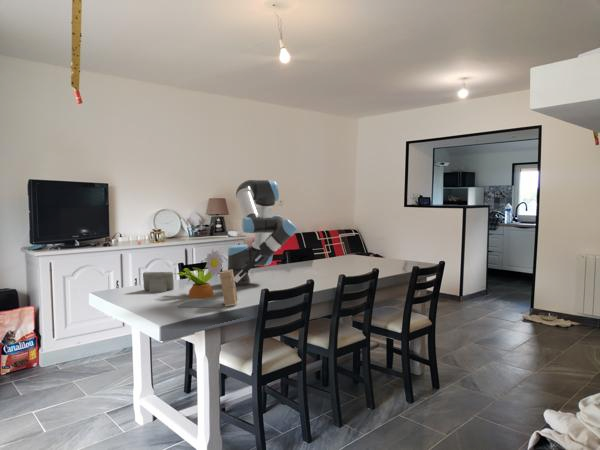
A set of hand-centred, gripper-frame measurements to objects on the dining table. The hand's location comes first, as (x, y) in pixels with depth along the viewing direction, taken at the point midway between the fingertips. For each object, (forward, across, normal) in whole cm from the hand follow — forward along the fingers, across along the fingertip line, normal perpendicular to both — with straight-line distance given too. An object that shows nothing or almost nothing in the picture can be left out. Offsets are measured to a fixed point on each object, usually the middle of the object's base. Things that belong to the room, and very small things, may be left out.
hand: (235, 280), depth 206 cm
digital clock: (+42, +29, +25) cm, 57 cm away
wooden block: (+9, +1, -7) cm, 12 cm away
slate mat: (+20, 0, +3) cm, 20 cm away
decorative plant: (+24, +21, +7) cm, 32 cm away
